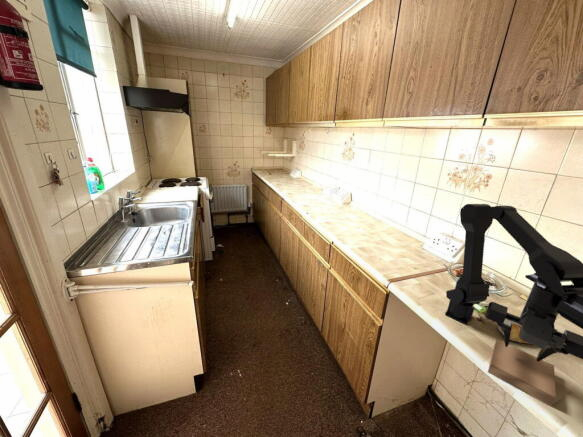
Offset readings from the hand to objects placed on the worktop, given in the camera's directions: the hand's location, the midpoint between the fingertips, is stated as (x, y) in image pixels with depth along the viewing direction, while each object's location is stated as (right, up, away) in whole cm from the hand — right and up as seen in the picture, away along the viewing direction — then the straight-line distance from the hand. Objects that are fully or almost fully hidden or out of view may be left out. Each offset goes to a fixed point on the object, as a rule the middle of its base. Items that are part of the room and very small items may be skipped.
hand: (521, 352), depth 65 cm
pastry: (+11, -4, +11) cm, 16 cm away
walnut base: (0, -6, +1) cm, 6 cm away
